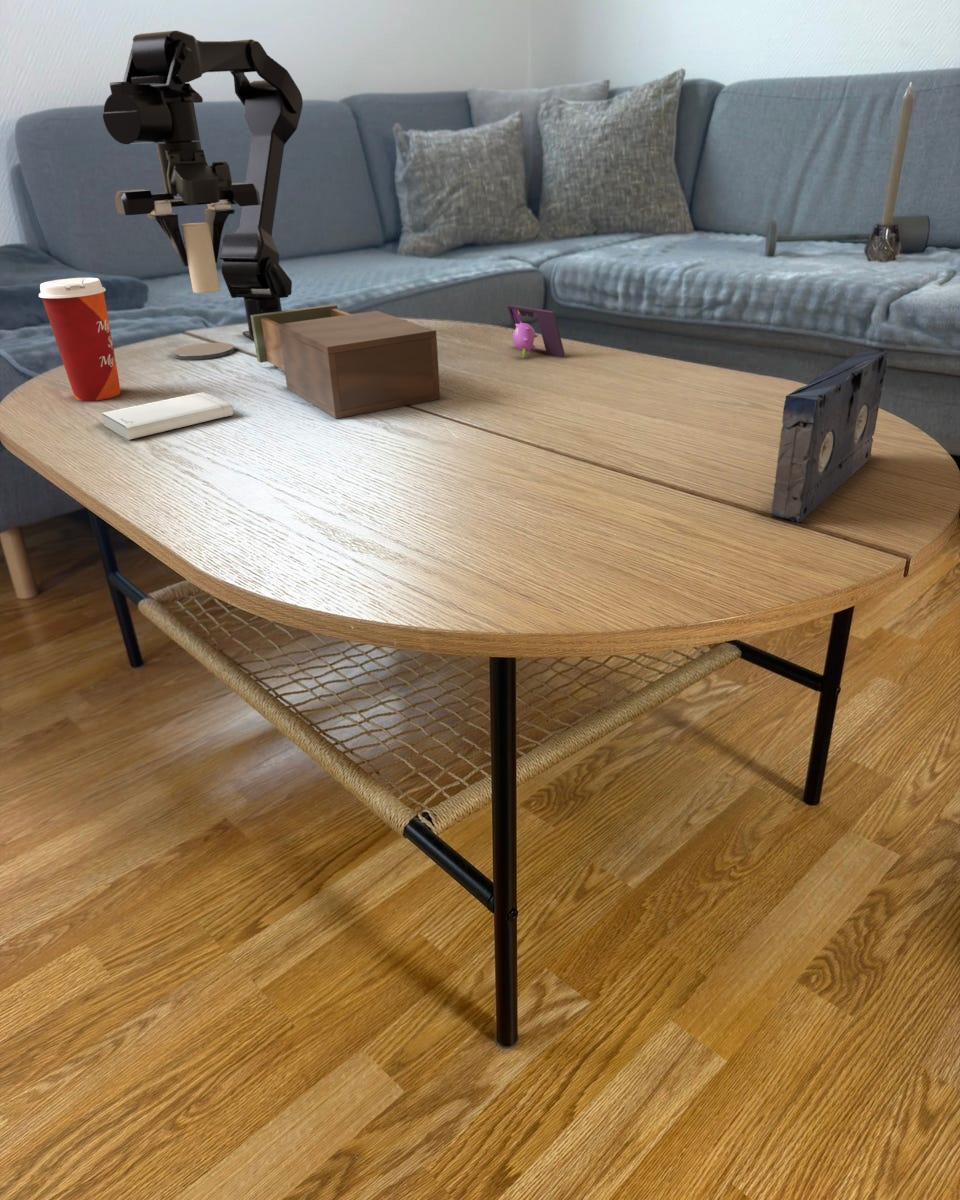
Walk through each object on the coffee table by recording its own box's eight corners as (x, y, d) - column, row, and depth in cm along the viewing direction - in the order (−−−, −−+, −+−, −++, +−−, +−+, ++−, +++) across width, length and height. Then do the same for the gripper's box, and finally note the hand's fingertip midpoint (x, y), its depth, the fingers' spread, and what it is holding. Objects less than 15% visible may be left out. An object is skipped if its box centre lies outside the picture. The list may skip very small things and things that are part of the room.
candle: (190, 291, 127) (177, 224, 122) (215, 287, 128) (204, 221, 124) (197, 294, 124) (184, 226, 120) (223, 291, 126) (212, 223, 121)
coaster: (167, 352, 134) (166, 348, 134) (225, 343, 138) (224, 340, 138) (181, 362, 127) (180, 358, 127) (241, 354, 131) (241, 349, 131)
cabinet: (287, 388, 112) (277, 324, 108) (382, 372, 118) (377, 310, 114) (335, 418, 99) (327, 347, 95) (440, 398, 105) (436, 330, 101)
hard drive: (126, 426, 94) (231, 402, 101) (99, 412, 100) (201, 389, 106) (130, 441, 95) (234, 416, 102) (103, 426, 100) (203, 403, 107)
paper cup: (135, 396, 111) (108, 281, 105) (71, 406, 108) (40, 288, 101) (122, 384, 117) (96, 274, 111) (61, 393, 114) (31, 281, 107)
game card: (557, 308, 118) (512, 301, 124) (532, 327, 116) (487, 319, 122) (568, 353, 122) (524, 344, 128) (544, 372, 120) (500, 362, 126)
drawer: (248, 356, 126) (241, 310, 123) (328, 343, 131) (323, 300, 128) (294, 383, 111) (288, 333, 108) (383, 368, 116) (379, 320, 113)
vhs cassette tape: (843, 454, 83) (861, 348, 78) (875, 459, 81) (896, 351, 76) (763, 516, 71) (778, 394, 66) (798, 524, 69) (817, 400, 64)
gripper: (119, 145, 107) (147, 278, 115) (264, 138, 116) (281, 263, 123) (102, 145, 116) (129, 269, 123) (238, 139, 124) (256, 255, 132)
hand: (200, 264), depth 125 cm, fingers closed on candle, 4 cm apart
